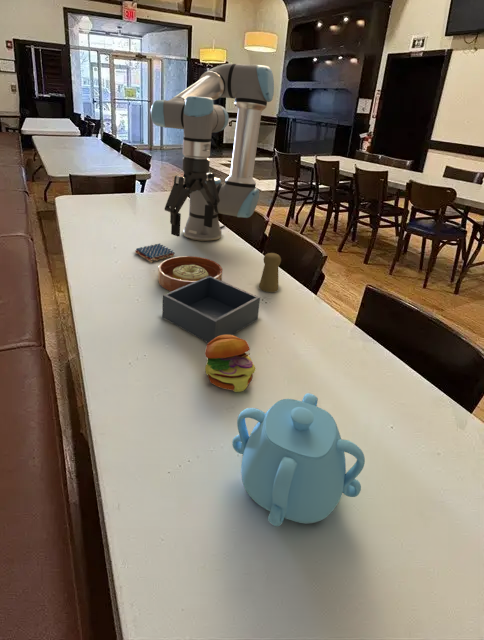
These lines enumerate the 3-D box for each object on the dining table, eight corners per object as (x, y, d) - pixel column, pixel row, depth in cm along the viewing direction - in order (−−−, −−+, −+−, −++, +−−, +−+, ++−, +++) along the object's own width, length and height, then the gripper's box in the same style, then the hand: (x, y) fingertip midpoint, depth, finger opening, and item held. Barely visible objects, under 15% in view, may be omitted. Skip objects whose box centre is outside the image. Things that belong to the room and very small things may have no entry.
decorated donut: (213, 279, 129) (214, 267, 127) (194, 291, 120) (195, 279, 118) (185, 270, 133) (186, 259, 132) (165, 281, 124) (166, 270, 123)
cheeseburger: (219, 401, 78) (216, 351, 77) (196, 379, 88) (193, 334, 86) (264, 387, 83) (262, 340, 81) (238, 367, 92) (235, 325, 91)
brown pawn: (256, 289, 125) (260, 255, 121) (262, 281, 130) (266, 249, 126) (275, 293, 123) (280, 259, 119) (280, 286, 128) (285, 253, 124)
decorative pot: (224, 449, 68) (230, 383, 63) (312, 435, 73) (325, 371, 67) (257, 549, 54) (269, 472, 49) (365, 523, 58) (386, 450, 53)
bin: (207, 296, 118) (209, 275, 116) (257, 319, 108) (260, 297, 106) (162, 317, 106) (162, 294, 103) (213, 346, 96) (215, 321, 93)
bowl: (189, 264, 139) (190, 251, 138) (233, 282, 128) (235, 269, 127) (145, 280, 125) (145, 266, 124) (190, 302, 114) (191, 288, 112)
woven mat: (133, 253, 144) (133, 247, 144) (159, 247, 151) (159, 242, 150) (150, 263, 137) (150, 257, 137) (175, 256, 144) (176, 251, 143)
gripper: (172, 161, 102) (169, 242, 109) (235, 156, 120) (229, 226, 128) (152, 157, 106) (151, 235, 114) (215, 152, 124) (210, 220, 132)
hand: (192, 230), depth 121 cm, fingers open, 13 cm apart
